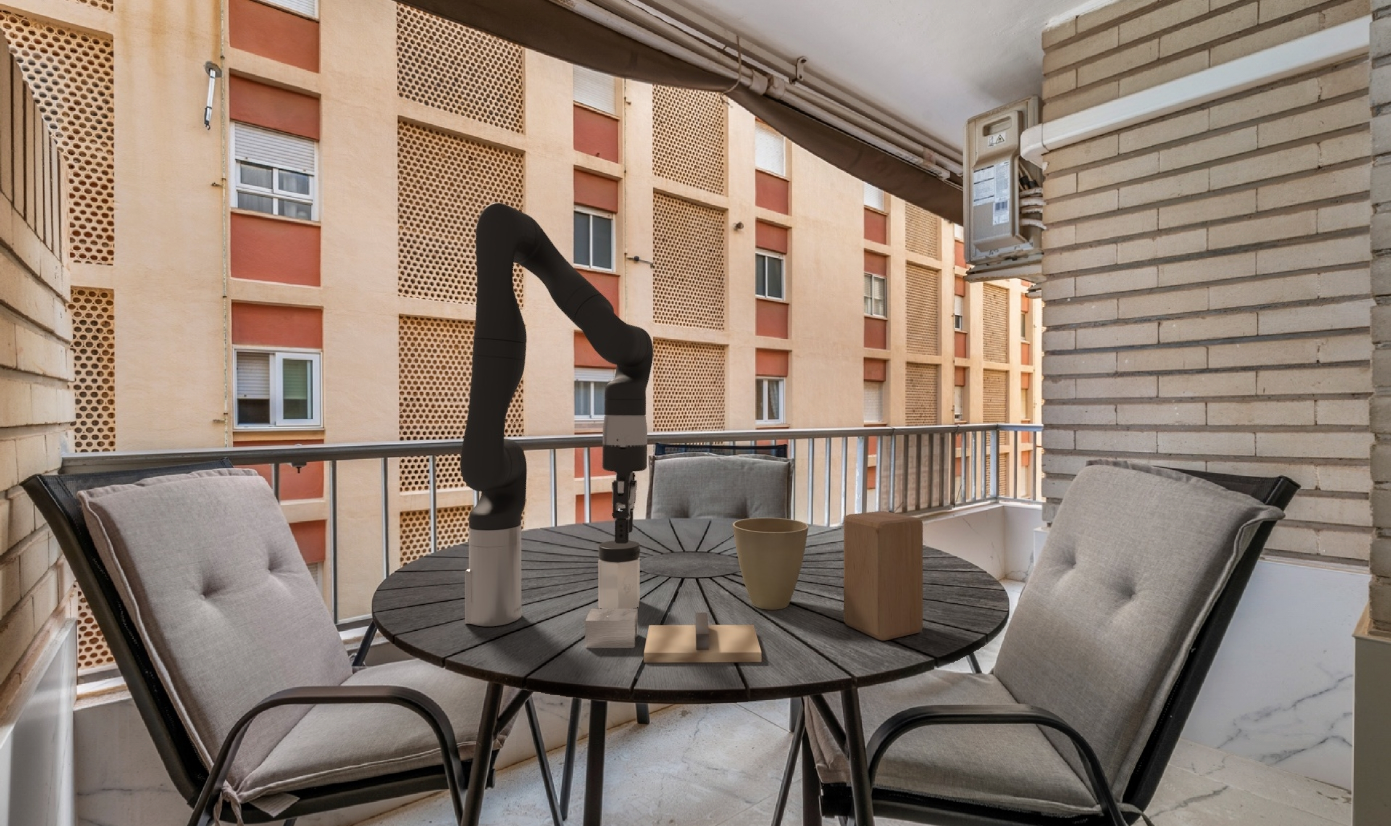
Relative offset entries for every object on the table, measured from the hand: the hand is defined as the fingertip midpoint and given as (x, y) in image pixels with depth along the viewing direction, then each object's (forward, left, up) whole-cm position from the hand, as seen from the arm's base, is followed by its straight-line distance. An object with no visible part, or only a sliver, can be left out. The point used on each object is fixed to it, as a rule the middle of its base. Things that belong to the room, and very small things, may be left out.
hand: (624, 537), depth 104 cm
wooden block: (+45, +4, -17) cm, 48 cm away
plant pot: (+27, +18, -17) cm, 37 cm away
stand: (+13, -4, -17) cm, 22 cm away
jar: (-3, +18, -17) cm, 25 cm away
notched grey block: (-2, -1, -17) cm, 17 cm away
